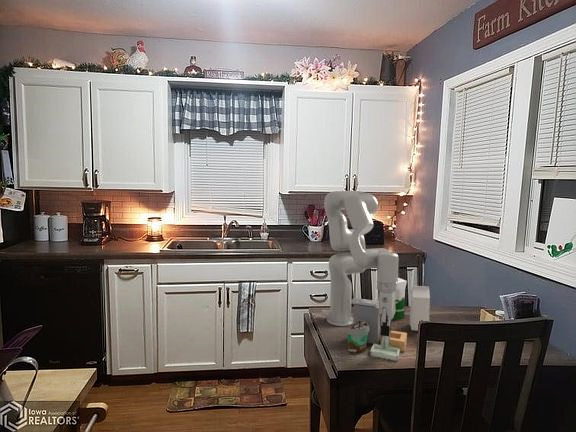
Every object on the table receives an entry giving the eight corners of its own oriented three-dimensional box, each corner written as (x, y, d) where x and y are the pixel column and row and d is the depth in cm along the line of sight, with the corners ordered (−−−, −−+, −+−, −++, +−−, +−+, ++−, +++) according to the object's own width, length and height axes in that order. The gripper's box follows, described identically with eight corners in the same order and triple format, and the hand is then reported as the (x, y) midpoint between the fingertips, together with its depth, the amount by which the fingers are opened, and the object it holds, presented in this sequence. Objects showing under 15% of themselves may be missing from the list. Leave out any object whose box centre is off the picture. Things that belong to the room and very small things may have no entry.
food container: (362, 358, 142) (362, 332, 141) (346, 354, 145) (347, 328, 144) (373, 345, 152) (374, 321, 151) (358, 342, 156) (359, 318, 155)
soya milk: (393, 311, 190) (395, 272, 188) (407, 317, 182) (409, 276, 180) (380, 315, 186) (381, 274, 184) (394, 321, 178) (395, 279, 176)
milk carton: (428, 331, 166) (430, 289, 164) (411, 330, 167) (413, 288, 165) (426, 325, 173) (427, 284, 171) (409, 324, 174) (411, 283, 172)
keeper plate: (351, 303, 156) (351, 301, 156) (353, 300, 160) (353, 297, 160) (376, 306, 152) (376, 304, 152) (377, 303, 156) (378, 300, 156)
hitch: (351, 342, 155) (352, 306, 153) (356, 334, 163) (357, 300, 162) (404, 351, 147) (405, 314, 146) (406, 342, 155) (408, 306, 154)
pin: (380, 348, 144) (380, 312, 142) (381, 345, 147) (382, 309, 145) (389, 350, 143) (389, 313, 141) (390, 346, 146) (390, 310, 144)
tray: (369, 356, 144) (370, 351, 144) (373, 348, 150) (373, 343, 150) (397, 361, 140) (397, 356, 140) (399, 352, 146) (399, 348, 146)
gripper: (394, 293, 133) (393, 344, 135) (400, 281, 148) (398, 327, 150) (372, 290, 136) (371, 340, 138) (380, 279, 151) (379, 324, 153)
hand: (385, 333), depth 144 cm, fingers closed on pin, 3 cm apart
